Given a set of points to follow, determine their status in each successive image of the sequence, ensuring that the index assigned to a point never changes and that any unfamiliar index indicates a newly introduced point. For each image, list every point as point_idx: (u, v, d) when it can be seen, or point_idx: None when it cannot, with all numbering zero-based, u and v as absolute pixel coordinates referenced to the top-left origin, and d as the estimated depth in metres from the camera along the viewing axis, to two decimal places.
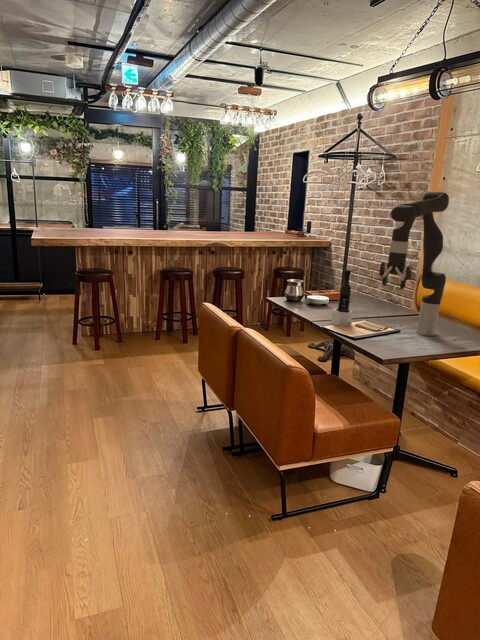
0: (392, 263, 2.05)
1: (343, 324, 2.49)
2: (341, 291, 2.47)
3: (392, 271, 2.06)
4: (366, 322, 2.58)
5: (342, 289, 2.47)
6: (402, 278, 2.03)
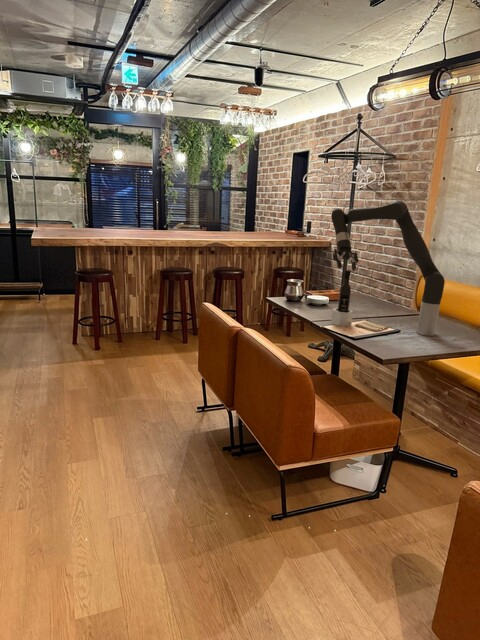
0: None
1: (343, 324, 2.49)
2: (341, 291, 2.47)
3: None
4: (366, 322, 2.58)
5: (342, 289, 2.47)
6: None
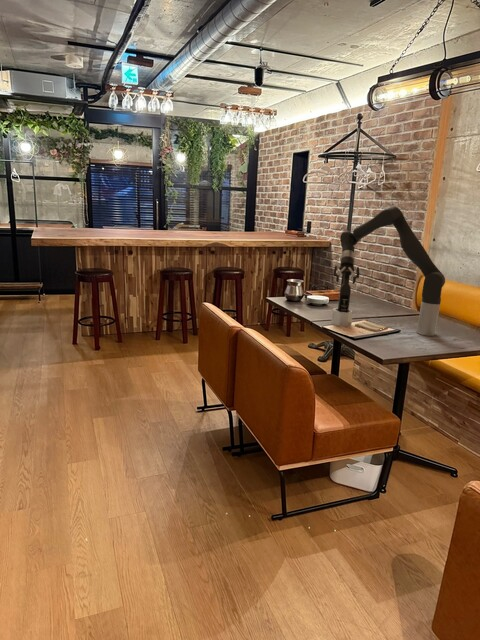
0: None
1: (343, 324, 2.49)
2: (341, 291, 2.47)
3: None
4: (366, 322, 2.58)
5: (342, 289, 2.47)
6: None
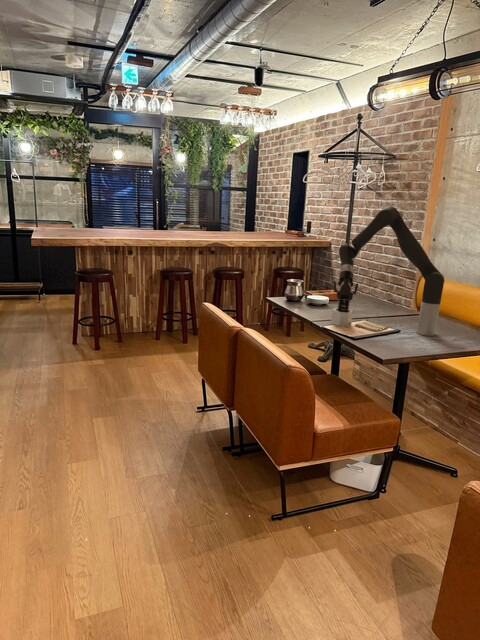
0: None
1: (343, 324, 2.49)
2: (341, 291, 2.47)
3: None
4: (366, 322, 2.58)
5: (342, 289, 2.47)
6: None
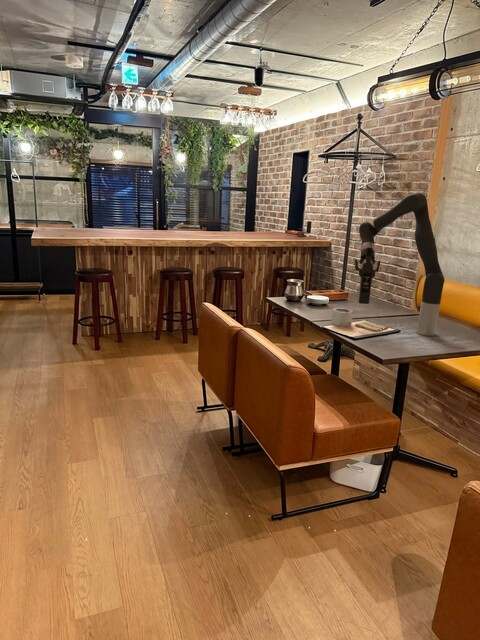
0: None
1: (343, 324, 2.49)
2: (363, 268, 2.43)
3: None
4: (366, 322, 2.58)
5: (364, 266, 2.42)
6: None
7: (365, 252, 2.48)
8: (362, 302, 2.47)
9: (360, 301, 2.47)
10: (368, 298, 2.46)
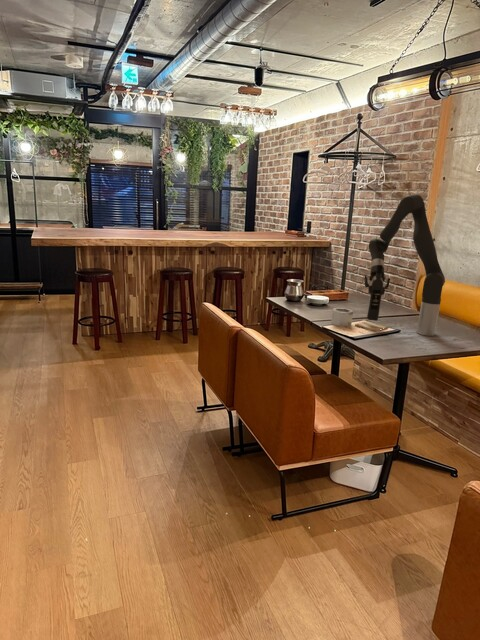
0: None
1: (343, 324, 2.49)
2: (373, 286, 2.44)
3: None
4: (366, 322, 2.58)
5: (374, 284, 2.44)
6: None
7: (375, 269, 2.50)
8: (371, 319, 2.49)
9: (369, 317, 2.49)
10: (377, 315, 2.48)
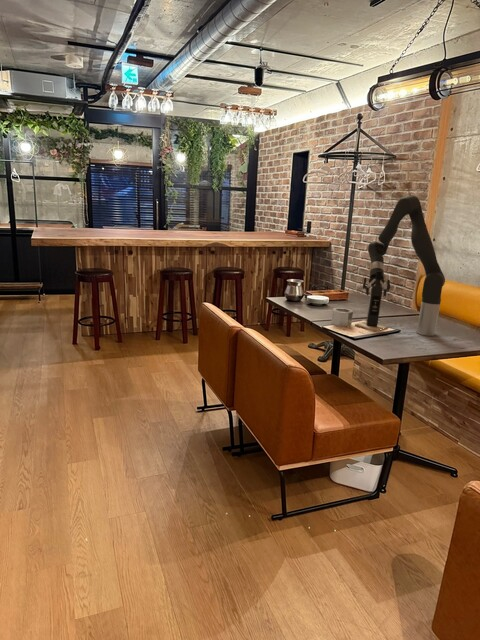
0: None
1: (343, 324, 2.49)
2: (372, 292, 2.45)
3: None
4: None
5: (373, 290, 2.45)
6: None
7: (374, 272, 2.51)
8: (370, 325, 2.50)
9: (368, 323, 2.50)
10: (376, 321, 2.49)
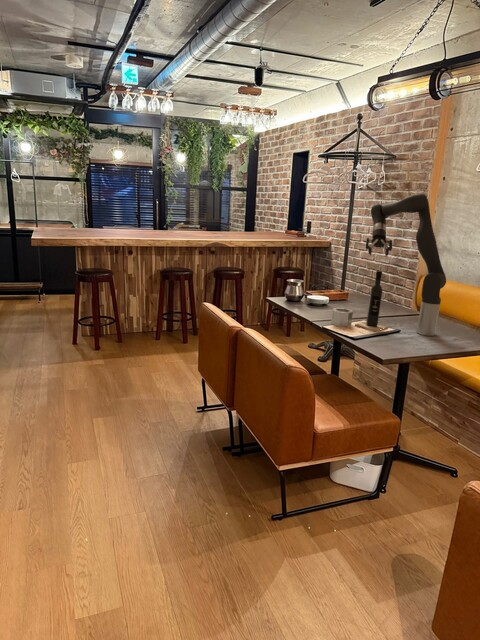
0: None
1: (343, 324, 2.49)
2: (372, 292, 2.45)
3: None
4: None
5: (373, 290, 2.45)
6: None
7: (377, 232, 2.58)
8: (370, 325, 2.50)
9: (368, 324, 2.50)
10: (376, 321, 2.49)
